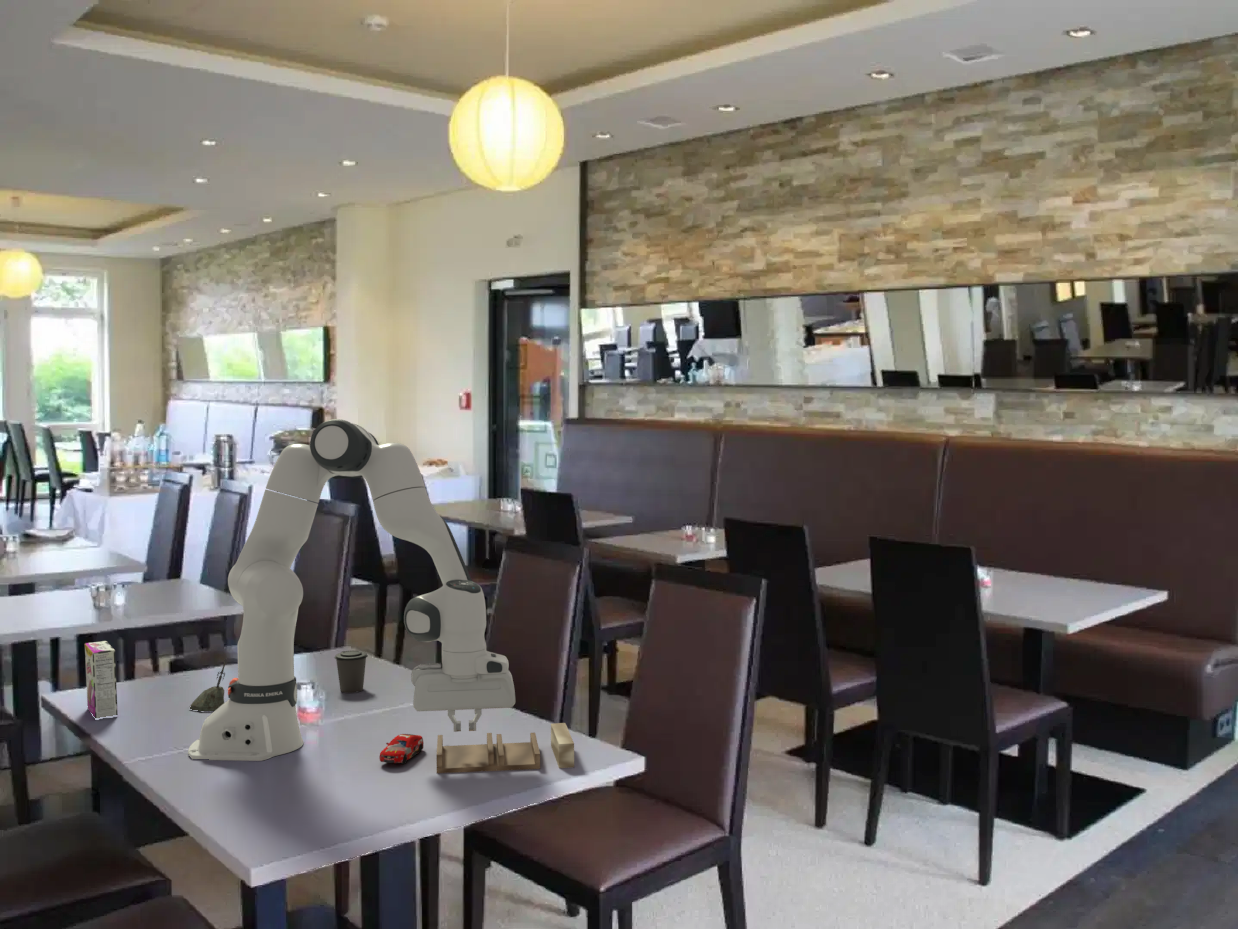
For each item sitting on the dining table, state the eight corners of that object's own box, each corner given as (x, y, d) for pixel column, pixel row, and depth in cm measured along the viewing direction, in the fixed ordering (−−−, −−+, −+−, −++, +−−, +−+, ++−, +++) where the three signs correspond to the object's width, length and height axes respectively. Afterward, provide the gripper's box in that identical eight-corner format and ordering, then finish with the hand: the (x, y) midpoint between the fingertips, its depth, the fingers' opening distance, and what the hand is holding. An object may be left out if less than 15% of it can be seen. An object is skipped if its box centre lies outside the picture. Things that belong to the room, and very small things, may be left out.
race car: (400, 768, 217) (400, 747, 216) (374, 765, 218) (375, 745, 218) (428, 749, 229) (428, 730, 229) (403, 747, 231) (404, 727, 231)
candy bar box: (85, 713, 257) (83, 643, 256) (109, 709, 260) (107, 640, 259) (94, 724, 248) (92, 652, 247) (118, 721, 251) (116, 649, 250)
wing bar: (559, 769, 218) (558, 744, 218) (550, 747, 232) (550, 723, 232) (574, 768, 219) (574, 743, 219) (565, 746, 233) (565, 723, 232)
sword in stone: (191, 719, 253) (189, 666, 252) (184, 710, 260) (183, 659, 259) (236, 712, 258) (235, 661, 257) (229, 704, 265) (227, 654, 264)
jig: (436, 774, 215) (436, 756, 215) (438, 751, 229) (437, 734, 229) (540, 769, 218) (539, 751, 218) (535, 746, 232) (535, 730, 231)
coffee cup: (334, 689, 278) (333, 649, 277) (367, 686, 280) (366, 647, 280) (335, 697, 270) (335, 656, 270) (370, 694, 273) (369, 654, 272)
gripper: (410, 668, 217) (411, 737, 218) (515, 664, 220) (516, 733, 221) (411, 660, 223) (412, 728, 224) (514, 656, 226) (514, 723, 227)
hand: (464, 730), depth 222 cm, fingers closed
